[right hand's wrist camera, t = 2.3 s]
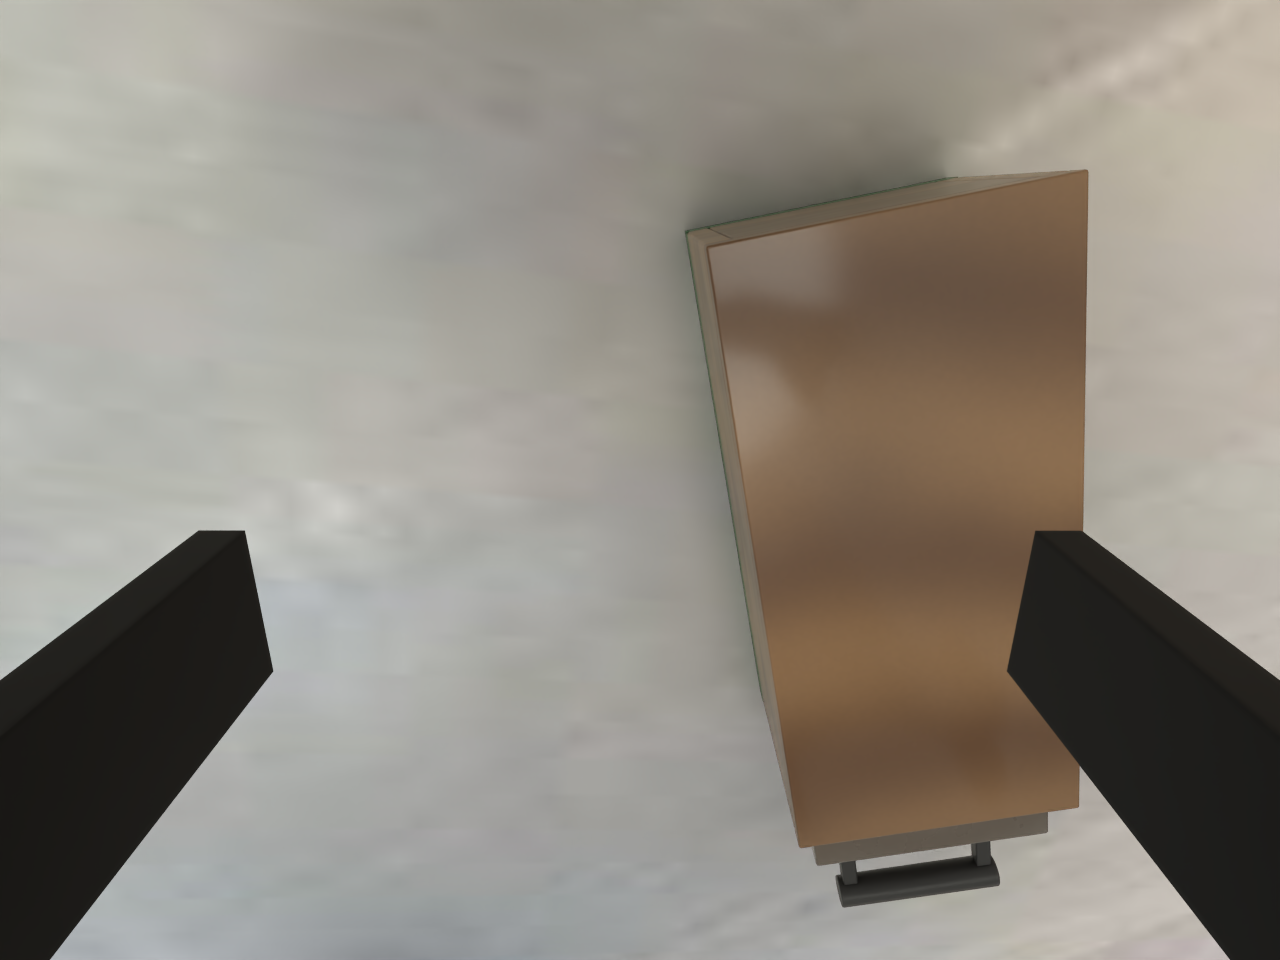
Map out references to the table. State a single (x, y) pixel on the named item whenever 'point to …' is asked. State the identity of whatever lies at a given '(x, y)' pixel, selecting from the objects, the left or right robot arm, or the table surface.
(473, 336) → the table surface
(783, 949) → the table surface
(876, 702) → the cabinet
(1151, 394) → the table surface
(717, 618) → the table surface
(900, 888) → the drawer
